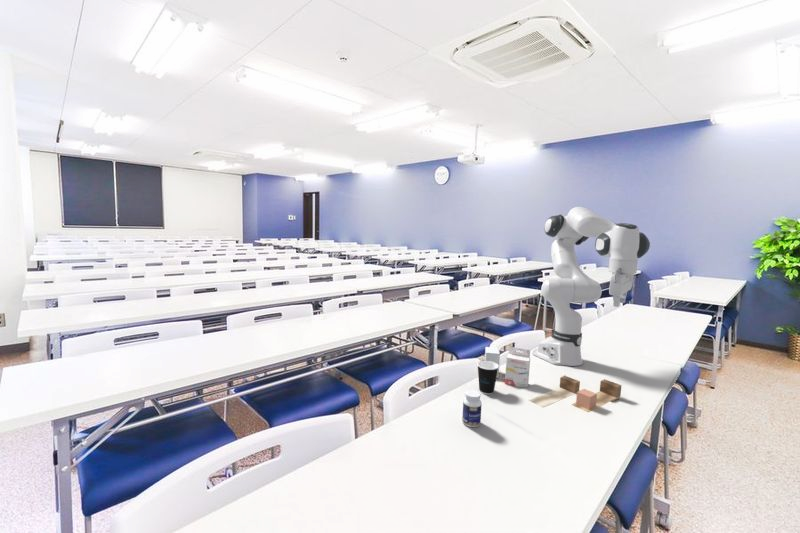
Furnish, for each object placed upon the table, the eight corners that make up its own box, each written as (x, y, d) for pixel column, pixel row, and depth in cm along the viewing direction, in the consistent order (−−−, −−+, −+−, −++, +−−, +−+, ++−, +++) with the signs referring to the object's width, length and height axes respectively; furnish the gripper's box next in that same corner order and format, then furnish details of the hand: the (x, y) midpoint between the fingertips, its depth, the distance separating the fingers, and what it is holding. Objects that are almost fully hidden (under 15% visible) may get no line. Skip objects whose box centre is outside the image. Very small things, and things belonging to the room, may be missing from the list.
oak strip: (571, 406, 125) (571, 393, 125) (603, 391, 138) (604, 379, 137) (588, 414, 120) (589, 400, 120) (620, 397, 133) (621, 385, 132)
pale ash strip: (528, 402, 128) (529, 389, 127) (564, 387, 140) (564, 375, 140) (543, 409, 123) (544, 396, 122) (578, 393, 135) (579, 381, 135)
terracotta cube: (576, 404, 126) (577, 391, 125) (583, 400, 128) (584, 388, 128) (588, 409, 122) (589, 397, 121) (595, 406, 124) (596, 393, 124)
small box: (498, 378, 149) (500, 353, 148) (484, 377, 150) (486, 352, 149) (497, 370, 157) (498, 347, 156) (484, 369, 158) (485, 346, 157)
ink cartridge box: (504, 385, 142) (506, 349, 141) (506, 381, 147) (508, 345, 145) (527, 390, 139) (529, 353, 137) (528, 385, 143) (530, 349, 142)
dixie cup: (493, 388, 140) (495, 360, 139) (500, 397, 132) (501, 369, 131) (473, 388, 140) (474, 360, 139) (478, 397, 132) (479, 368, 131)
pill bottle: (469, 429, 111) (471, 399, 110) (458, 420, 116) (459, 391, 115) (484, 425, 114) (485, 395, 113) (472, 416, 119) (474, 387, 118)
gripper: (626, 270, 124) (623, 310, 125) (637, 266, 139) (634, 301, 140) (606, 269, 128) (602, 307, 130) (619, 265, 143) (615, 299, 145)
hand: (619, 304), depth 135 cm, fingers open, 8 cm apart
